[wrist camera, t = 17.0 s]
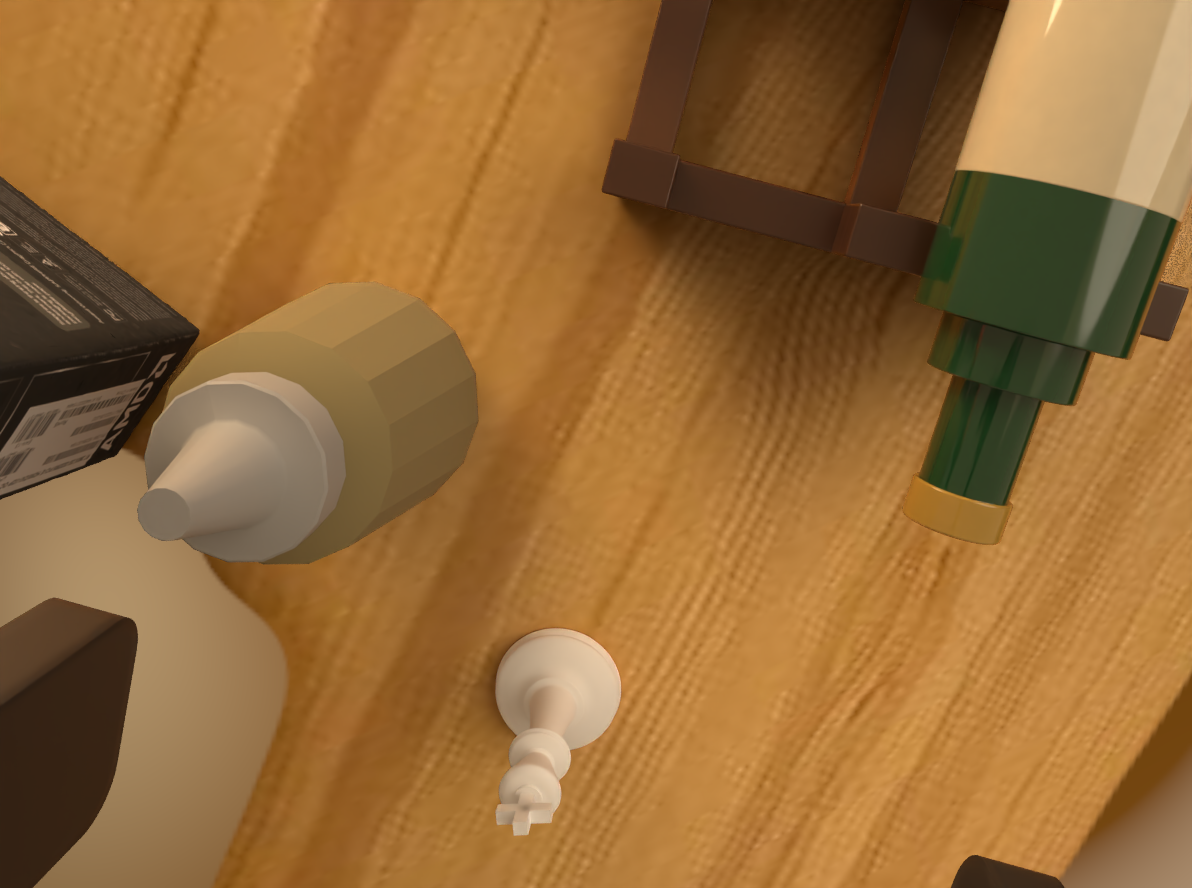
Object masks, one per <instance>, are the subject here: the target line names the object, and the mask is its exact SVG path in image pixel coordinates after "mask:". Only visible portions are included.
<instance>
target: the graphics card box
mask: <svg viewBox="0 0 1192 888" xmlns="http://www.w3.org/2000/svg"><path fill="white" fill-rule="evenodd" d="M198 335H199V329H197V328H196V327H195V326H194V325H193V324H191V323H190V322H188V321H187V319H186V318H184V317H183V316H181V315H180V314H179V313H177V312H176V311H175V310H173V309H172V308H171V307H170V306H169V305H168V304H166V303H164V302H163V301H162V300H160V299H159V298H158V297H157V296H155V295H153V294H152V293H151V292H150V291H149V290H148V289H147V288H145V287H144V286H142V285H141V284H140V283H139V282H138V281H136V280H135V279H134V278H132V277H131V276H130V275H129V274H127V273H126V272H124V271H123V270H122V269H120V268H119V267H118V266H116V265H115V264H114V263H113V262H111V261H109V260H108V258H106V257H104V256H103V255H102V254H101V253H100V252H99V251H97V250H96V249H94V248H93V247H91V246H90V245H89V244H88V242H86V241H84V240H83V239H81V238H80V237H79V236H78V235H76V234H75V233H73V232H72V231H70V230H69V229H68V228H66V227H65V226H64V225H63V224H61V223H60V222H59V221H57V220H56V219H55V218H54V217H53V216H51V215H50V214H48V213H47V211H46V210H43V209H41V208H40V207H39V206H38V205H37V204H35V203H34V202H33V201H32V200H30V199H29V198H28V197H27V196H25V195H24V194H23V193H22V192H19V191H18V190H17V189H15V188H14V187H13V186H12V185H11V184H9V183H8V182H7V181H6V180H4V179H3V178H2V177H0V500H1V499H2V498H5V497H8V496H11V495H13V494H16V493H19V492H22V491H24V490H27V489H29V488H32V487H35V486H38V485H40V484H43V483H45V482H48V481H50V480H52V479H55V478H59V477H62V476H65V475H68V474H70V473H72V472H75V471H78V470H80V469H83V468H85V467H87V466H90V465H93V464H96V463H99V462H101V461H102V460H106V459H108V458H111V457H114V456H115V455H117V454H118V452H119V451H120V449H121V448H122V446H123V445H124V443H125V442H126V441H127V439H128V438H129V437H130V435H131V433H132V432H133V430H134V428H135V427H136V426H137V424H138V423H139V421H140V420H141V418H142V416H143V415H144V414H145V412H146V411H147V409H148V408H149V407H150V405H151V404H152V403H153V401H154V399H155V398H156V396H157V395H158V393H159V391H160V390H161V388H162V387H163V385H164V384H165V383H166V381H167V380H168V378H169V376H170V375H171V374H172V372H173V371H174V369H175V368H176V366H177V365H178V364H179V363H180V361H181V360H182V359H183V358H184V356H185V355H186V353H187V351H188V350H189V348H190V347H191V345H192V344H193V343H194V341H195V340H196V338H197V337H198Z"/></svg>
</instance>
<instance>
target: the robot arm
mask: <svg viewBox="0 0 1192 888" xmlns="http://www.w3.org/2000/svg"><path fill="white" fill-rule="evenodd" d="M137 643H138V633H137V627H136V624H135V622H134V621H133V620H131V619H130V618H127V617H123V616H120V615H116V614H112V613H108V612H105V611H102V610H98V609H94V608H91V607H87V606H83V605H80V604H76V603H73V602H69V601H66V600H62V599H58V598H52V599H48V600H46V601H44V602H42V603H40V604H39V605H37V606H36V607H34V608H32V609H31V610H29V611H27V612H25V613H24V614H22V615H20V616H19V617H17V618H15V619H14V620H12V621H10V622H9V623H7V624H6V625H4V626H2V627H1V628H0V888H33V887H34V886H35V885H36V884H37V883H38V881H39V880H40V879H41V878H42V877H43V876H44V875H45V874H46V873H47V872H48V871H49V870H50V869H51V868H52V867H53V866H54V865H55V864H56V863H57V862H58V861H59V860H60V859H61V858H62V857H63V856H64V855H65V854H66V853H67V852H68V851H69V850H70V849H71V847H72V846H73V845H74V844H75V843H76V842H77V841H78V840H79V839H80V838H81V837H82V836H83V835H84V834H85V832H86V831H87V830H88V829H89V827H90V826H91V824H92V823H93V821H94V820H95V818H96V817H97V814H98V813H99V811H100V810H101V808H102V806H103V804H104V802H105V800H106V797H107V795H108V792H109V790H110V787H111V784H112V782H113V778H114V775H115V771H116V766H117V761H118V756H119V749H120V744H121V737H122V733H123V727H124V721H125V715H126V709H127V703H128V698H129V692H130V686H131V680H132V674H133V668H134V663H135V657H136V651H137ZM951 888H1064V886H1063V885H1062V883H1061V882H1060V881H1059V880H1058V879H1057V878H1055V877H1053V876H1050V875H1046V874H1043V873H1039V872H1035V871H1032V870H1028V869H1025V868H1021V867H1017V866H1014V865H1010V864H1007V863H1003V862H999V861H996V860H992V859H989V858H985V857H981V856H978V855H972V856H970V857H968V858H967V859H966V860H965V861H964V862H963V864H962V865H961V866H960V868H959V870H958V872H957V874H956V876H955V879H954V881H953V884H952V886H951Z"/></svg>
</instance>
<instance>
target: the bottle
mask: <svg viewBox="0 0 1192 888" xmlns="http://www.w3.org/2000/svg"><path fill="white" fill-rule="evenodd" d="M1191 200H1192V0H1009V2H1008V6H1007V9H1006V12H1005V15H1004V18H1003V21H1002V24H1001V27H1000V30H999V33H998V37H997V40H996V43H995V46H994V49H993V52H992V55H991V58H990V61H989V64H988V68H987V71H986V74H985V77H984V80H983V83H982V86H981V89H980V92H979V95H978V99H977V102H976V105H975V108H974V111H973V114H972V117H971V120H970V123H969V126H968V130H967V133H966V136H965V139H964V142H963V145H962V148H961V151H960V154H959V157H958V161H957V164H956V167H955V170H954V175H953V178H952V182H951V185H950V188H949V191H948V194H947V197H946V200H945V203H944V206H943V209H942V213H941V216H940V219H939V222H938V225H937V228H936V231H935V234H934V237H933V240H932V244H931V247H930V250H929V253H928V256H927V259H926V262H925V265H924V268H923V271H922V275H921V278H920V281H919V284H918V287H917V290H916V293H915V296H914V302H916V303H919V304H922V305H925V306H928V307H931V308H934V309H937V310H941V311H943V314H942V317H941V320H940V323H939V326H938V329H937V332H936V335H935V338H934V341H933V344H932V347H931V350H930V353H929V356H928V359H927V363H928V364H929V365H930V366H932V367H934V368H937V369H939V370H941V371H944V372H947V373H949V374H952V378H951V381H950V384H949V387H948V390H947V393H946V396H945V399H944V402H943V405H942V408H941V411H940V414H939V417H938V420H937V423H936V426H935V428H934V431H933V434H932V437H931V440H930V443H929V446H928V449H927V452H926V455H925V458H924V461H923V464H922V467H921V470H920V472H917V473H915V474H914V475H913V477H912V480H911V483H910V486H909V489H908V492H907V495H906V498H905V501H904V504H903V507H902V511H903V513H904V514H905V515H906V516H907V517H908V518H910V519H911V520H913V521H914V522H916V523H918V524H920V525H922V526H924V527H926V528H928V529H931V530H933V531H936V532H938V533H941V534H944V535H946V536H949V537H953V538H956V539H959V540H963V541H967V542H971V543H976V544H983V545H996V544H998V543H1000V541H1001V539H1002V536H1003V533H1004V531H1005V528H1006V525H1007V522H1008V519H1009V517H1010V514H1011V511H1012V508H1013V505H1012V503H1011V502H1010V501H1009V500H1010V497H1011V495H1012V492H1013V489H1014V486H1015V483H1016V481H1017V478H1018V475H1019V472H1020V469H1021V467H1022V464H1023V461H1024V458H1025V456H1026V453H1027V450H1028V447H1029V444H1030V442H1031V439H1032V436H1033V433H1034V430H1035V428H1036V425H1037V422H1038V419H1039V416H1040V414H1041V411H1042V408H1043V405H1044V402H1049V403H1054V404H1059V405H1065V406H1075V405H1076V404H1077V402H1078V399H1079V396H1080V393H1081V391H1082V388H1083V385H1084V382H1085V380H1086V377H1087V374H1088V372H1089V369H1090V366H1091V363H1092V361H1093V358H1094V355H1095V353H1098V354H1102V355H1107V356H1111V357H1115V358H1120V359H1125V360H1130V359H1131V358H1132V356H1133V353H1134V350H1135V348H1136V345H1137V342H1138V339H1139V337H1140V334H1141V331H1142V329H1143V326H1144V323H1145V321H1146V318H1147V315H1148V313H1149V310H1150V307H1151V305H1152V302H1153V299H1154V297H1155V294H1156V291H1157V289H1158V286H1159V283H1160V281H1161V278H1162V275H1163V273H1164V270H1165V267H1166V265H1167V262H1168V259H1169V257H1170V254H1171V251H1172V248H1173V246H1174V243H1175V240H1176V238H1177V235H1178V232H1179V230H1180V227H1181V224H1182V223H1183V221H1184V219H1185V216H1186V213H1187V211H1188V208H1189V205H1190V203H1191Z"/></svg>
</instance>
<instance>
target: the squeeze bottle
mask: <svg viewBox="0 0 1192 888" xmlns="http://www.w3.org/2000/svg"><path fill="white" fill-rule="evenodd" d="M477 423H478V406H477V389H476V374H475V372H474V370H473V368H472V366H471V363H470V361H469V359H468V357H467V355H466V353H465V351H464V349H463V347H462V345H461V343H460V340H459V338H458V336H457V334H456V332H455V331H454V330H453V329H452V328H451V327H450V326H449V325H448V324H447V323H446V322H445V321H444V320H442V319H441V318H440V317H439V316H438V315H437V314H436V313H435V312H434V311H433V310H432V309H431V308H429V307H428V306H427V305H426V304H425V303H424V302H423V301H422V300H421V299H420V298H417V297H414V296H412V295H409V294H406V293H404V292H401V291H399V290H396V289H393V288H391V287H388V286H385V285H383V284H380V283H378V282H353V283H329V284H327V285H325V286H323V287H321V288H318V289H316V290H314V291H312V292H310V293H308V294H306V295H304V296H302V297H300V298H298V299H296V300H293V301H291V302H289V303H287V304H286V305H284V306H282V307H280V308H278V309H276V310H275V311H273V312H271V313H269V314H267V315H265V316H264V317H262V318H260V319H258V320H256V321H254V322H253V323H251V324H249V325H247V326H245V327H243V328H242V329H240V330H238V331H236V332H234V333H233V334H231V335H229V336H227V337H225V338H223V339H222V340H220V341H218V342H216V343H214V344H212V345H211V346H209V347H207V348H205V349H203V350H201V351H200V352H198V353H197V354H196V356H195V357H194V358H193V359H192V360H191V362H190V363H189V364H188V365H187V366H186V368H185V369H184V370H183V371H182V372H181V374H180V375H179V376H178V377H177V378H176V380H175V381H174V382H173V383H172V384H171V386H170V387H169V391H168V394H167V398H166V401H165V405H164V409H163V412H162V413H161V415H160V416H159V417H158V418H157V419H156V421H155V422H154V423H153V427H152V430H151V434H150V438H149V441H148V445H147V448H146V452H145V455H144V459H145V467H146V475H147V483H148V491H147V492H146V493H145V495H144V496H143V497H142V498H141V500H140V502H139V506H138V510H137V511H138V519H139V522H140V523H141V525H142V527H143V529H144V530H145V531H146V532H147V533H148V534H149V535H150V536H152V537H154V538H157V539H159V540H162V541H171V540H178V539H183V540H184V541H185V542H186V543H187V544H189V545H190V546H191V547H192V548H193V549H195V550H197V551H200V552H202V553H205V554H208V555H210V556H213V557H216V558H218V559H221V560H223V561H226V562H259V563H261V564H309V563H312V562H314V561H316V560H319V559H321V558H323V557H326V556H328V555H330V554H332V553H335V552H337V551H339V550H342V549H344V548H346V547H349V546H350V545H352V544H354V543H355V542H357V541H358V540H360V539H362V538H363V537H365V536H367V535H368V534H370V533H372V532H373V531H375V530H376V529H378V528H380V527H381V526H383V525H385V524H386V523H388V522H390V521H391V520H393V519H394V518H396V517H398V516H399V515H401V514H403V513H404V512H406V511H408V510H409V509H411V508H412V507H414V506H416V505H417V504H419V503H421V502H422V501H424V500H426V499H427V498H429V497H431V496H432V495H434V494H435V493H436V492H437V490H438V489H439V488H440V487H441V486H442V485H443V484H444V483H445V482H446V481H447V480H448V479H449V478H450V476H451V475H452V474H453V473H454V472H455V471H456V470H457V469H458V468H459V467H460V466H461V465H462V464H463V463H464V460H465V457H466V454H467V451H468V448H469V445H470V443H471V440H472V437H473V434H474V431H475V428H476V426H477Z"/></svg>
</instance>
